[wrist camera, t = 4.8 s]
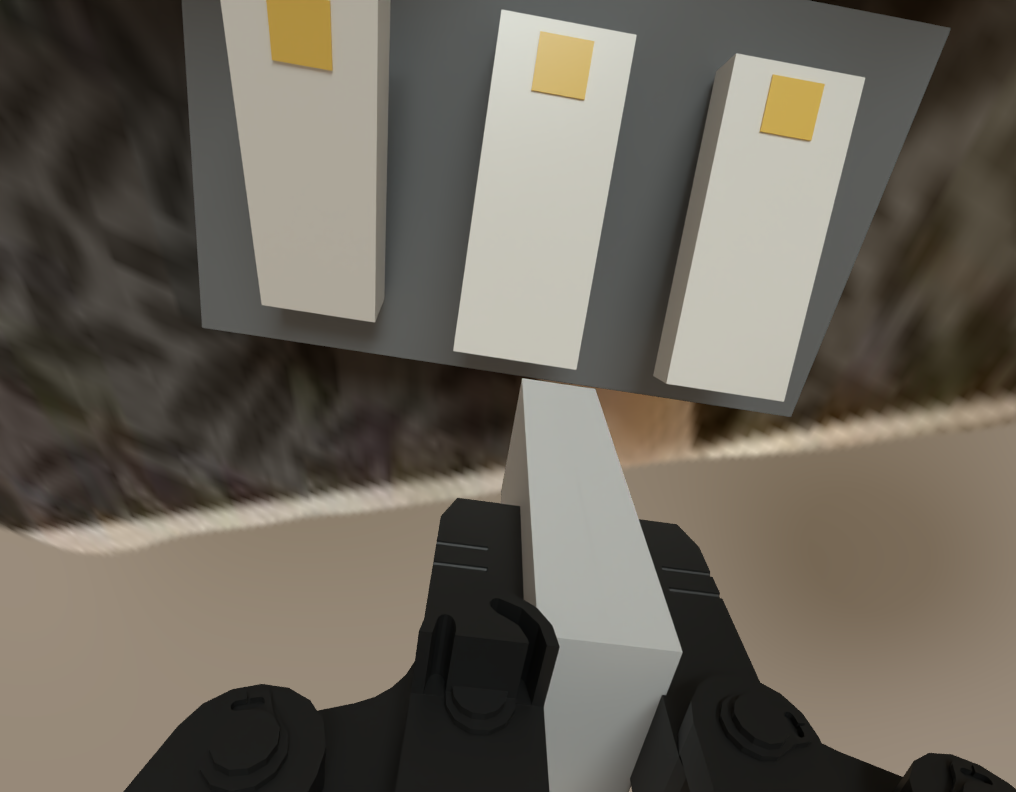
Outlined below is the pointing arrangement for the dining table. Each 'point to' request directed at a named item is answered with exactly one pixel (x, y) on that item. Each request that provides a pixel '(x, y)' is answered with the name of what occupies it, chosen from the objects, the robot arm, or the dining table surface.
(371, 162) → the block
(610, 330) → the switch unit
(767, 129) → the block
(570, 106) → the rocker
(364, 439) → the dining table surface
